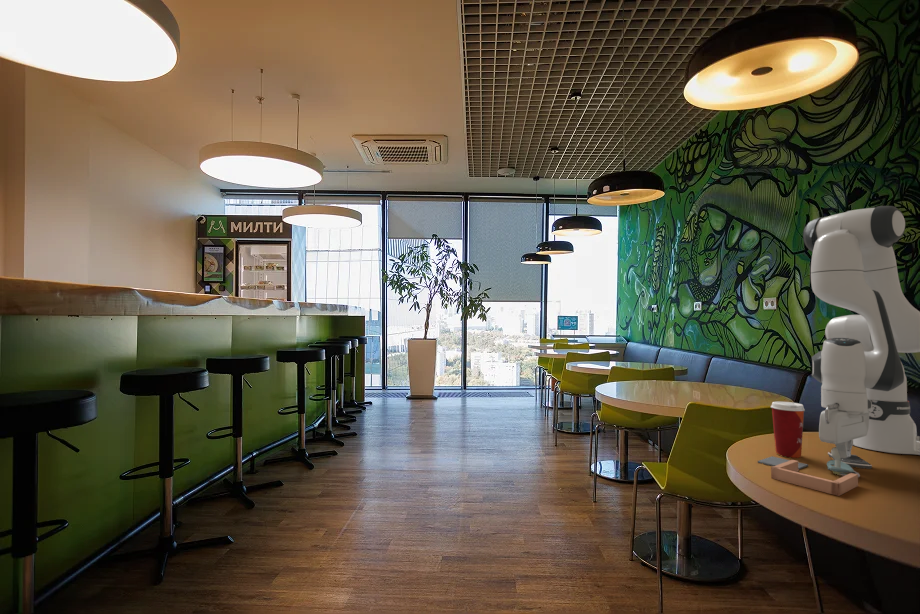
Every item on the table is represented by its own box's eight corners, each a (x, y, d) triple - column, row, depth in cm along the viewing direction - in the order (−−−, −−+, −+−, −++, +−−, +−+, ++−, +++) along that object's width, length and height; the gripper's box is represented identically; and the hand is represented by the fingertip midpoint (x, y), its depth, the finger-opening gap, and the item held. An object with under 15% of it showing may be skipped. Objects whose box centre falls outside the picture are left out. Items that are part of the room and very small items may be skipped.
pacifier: (858, 473, 108) (826, 468, 111) (858, 447, 108) (826, 442, 111) (862, 482, 102) (828, 475, 105) (862, 454, 102) (828, 449, 105)
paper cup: (812, 460, 117) (811, 406, 118) (779, 458, 119) (778, 405, 119) (796, 451, 125) (795, 401, 125) (765, 450, 126) (765, 400, 127)
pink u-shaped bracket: (792, 469, 109) (792, 459, 109) (858, 485, 98) (857, 474, 98) (771, 478, 103) (771, 467, 103) (838, 496, 92) (838, 483, 92)
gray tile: (772, 457, 119) (772, 456, 119) (808, 466, 112) (808, 464, 112) (757, 462, 114) (757, 461, 114) (794, 471, 108) (794, 469, 108)
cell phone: (842, 468, 112) (842, 462, 112) (826, 456, 122) (826, 451, 123) (873, 471, 110) (873, 465, 110) (854, 459, 120) (854, 454, 120)
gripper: (842, 407, 105) (843, 466, 104) (874, 401, 115) (875, 455, 115) (810, 402, 110) (811, 459, 110) (843, 397, 121) (844, 449, 120)
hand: (844, 457), depth 112 cm, fingers closed
